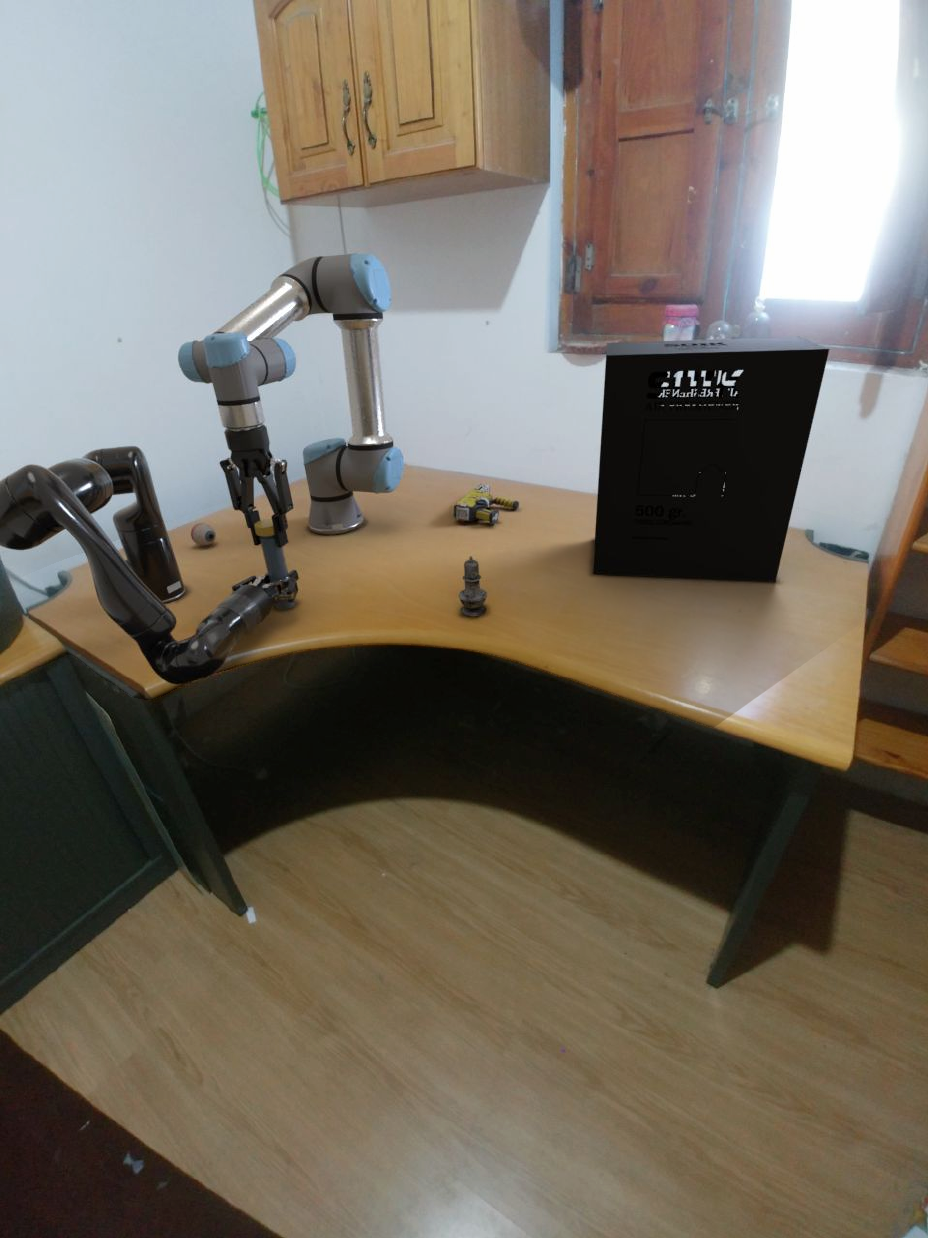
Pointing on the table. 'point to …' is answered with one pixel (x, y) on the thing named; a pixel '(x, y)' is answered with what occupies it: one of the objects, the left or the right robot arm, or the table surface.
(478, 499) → the toy gun
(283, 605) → the bottle
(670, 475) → the cardboard box
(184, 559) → the table surface
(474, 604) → the grey chess piece
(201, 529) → the eyeball
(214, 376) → the right robot arm
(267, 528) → the lid
